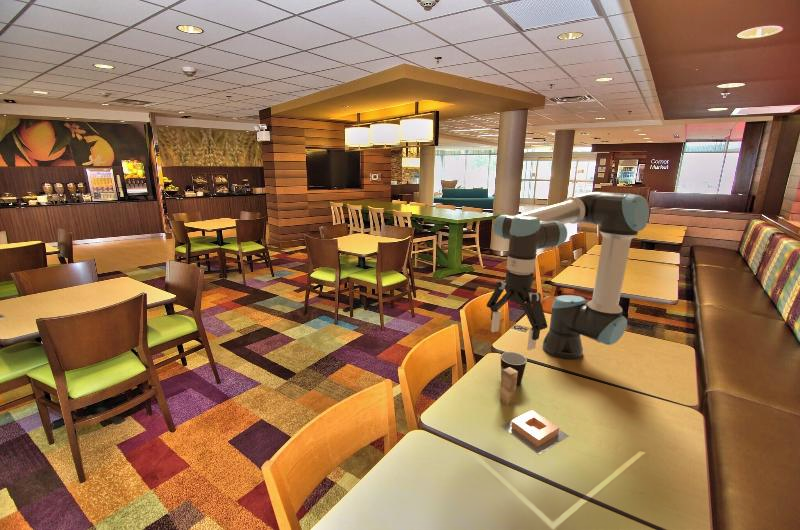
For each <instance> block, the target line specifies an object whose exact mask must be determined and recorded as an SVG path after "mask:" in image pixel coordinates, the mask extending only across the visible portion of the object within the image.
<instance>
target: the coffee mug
mask: <svg viewBox="0 0 800 530" xmlns="http://www.w3.org/2000/svg"><path fill="white" fill-rule="evenodd" d="M527 361H528V360H527V357H526V356H524V355H523V354H521V353H518V352H516V351H506V352H504V351H502V352H500V375H501V376H500V377H501V384H502V373H503V370H504V369H506V368H509V367H511V368H512V369H514V370H516V371H518V375H517V384H516V388H517V387H519V386H521V384H522V381H523V377H524V374H525V373H524V372H525V369H526V366H527Z"/></svg>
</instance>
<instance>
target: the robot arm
mask: <svg viewBox="0 0 800 530" xmlns="http://www.w3.org/2000/svg"><path fill="white" fill-rule="evenodd" d="M649 218H650V207H649V202H648V201H647V199H646V198H645V197H644V196H642V195H639V194H633V193H629V192H628V193H625V192H623V193H622V192H610V191H609V192H608V191H607V192H606V191H591V192H586V193H582V194H578V195H574V196H573V195H572V196H570V197H567V198H565V199H564V200H563V202H560V203H555V204H552V205H548V206H545V207H541V208H538V209H534V210H531V211H526V212H523V213H519V214H515V215H514V214H513V215H510V214H500V215H499V216H497V217H496V218H495V220H494V222H493V233H494V234H495V236H496V237H498V238H500V239H501V238H502V239H504V240H508V252H507V261H506V269H507V270H506V271H505V277H504V278H505V279H504V280H501V281H497V282H496V285H495V286H496V287H495V289H494V291H493V293H492V294H491V296H490V297H489V299H488V301H487V303H486V307H487V308H489V309H490V311H491V312H490V320H491V326H490V327H491V328H490V332H492V333H495V332H498V331H499V330H500V322H501V314H502V310H501V308H502V307H503V306H504V305H505V304H506V303H508V302H513V303H516V304H517V305H519V306H520V307H521V308H522V309H523V311H524V313H525V316H526V317H527V320H528V322H529V323H530V326H531V327H530V328H529V330H528V339H527V347H526V350H527V351H532V350H534V349H536V348H537V347H536V346H537V345H536V344H537V340H539V338H540V334H541V330H545V329H547V328H549V330H548V331H547V333H546V335H545V336H544V339H543V341H542V349H543V351H544V352H546V353H547V354H549V355H550V356H553V357H555V358H560V359H564V360H576V359H579V358H581V357H582V356H583V352H584V348H583V347H584V346H583V344H582V338H581V336H583V337H586V338H588V339H591V340H593V341H596V342H597V343H600V344H604V345H605V346H612V345H614V344H616V343H617V342H618V341H619V340H621V338H622V337H623V335H624V333H625V331H626V329H627V327H628V319H627V318H626V317H625V316H623V315H622V314H623V308H622V307H621V305H619V303H620V299H621V294H622V289H623V285H624V284H623V283H624V277H625V272H626V269H627V263H628V258H629V253H630V247H631V242H632V239H634V238H635V237H637V236H638V233H639V232H640V231H641V232H642V231H643V230H644V229H645V228H646V227H647V224H648V222H649ZM578 223H586V224H593V225H598V226H599V229H598V230H599V231H598V232H599V233H600V235H601V236H602V239H601V245H600V252H599V258H598V263H597V264H598V265H597V270H596V275H595V281H594V287H593V293H592V299H591V300H589V301H588V302H587V300H586V299H585V298H584V297H582V296H581V295H572V294H571V295H569V294H568V295H567V294H566V295H565V294H564V295H559V296H556V297H555V298H553V300H552V301H553V302H552V306H551V314H550V323H549V327H548V322H547V318H546V315H545V312H544V308H543V305H542V299H541V298H542V295H541V293H540V292H537V293H534V292H532V290H531V289H532V286H533V284H534V276H535V275H534V271H535V268H536V261H537V260H536V257H537V252H538V251H537V250H541V249H548V248H556V247H557V246H558V247H559V246H562V244H564V243H565V242H566V240H567V237H568V229H567V226H566V225H565V224H572V225H573V224H578ZM504 290H505V294H503V292H504ZM502 294H503V296H502V297H501V295H502ZM500 297H501V298H500ZM499 298H500V299H499ZM525 302H526V303H525Z"/></svg>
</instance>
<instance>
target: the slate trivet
mask: <svg viewBox="0 0 800 530" xmlns="http://www.w3.org/2000/svg"><path fill="white" fill-rule="evenodd" d="M530 411H532V410H528V411H526V412H525V413H523V414H521V415H519V416H518V417H515V418H513V419H512V420H510V421H507V423H504V424H503V425H501V427H502V428H503V429H505V430H506V431H507V433H510V434H511V435H512V436H514V437H515V439H516V438H517V440H519V441H521V442H522V444H524V445H526V446H527V447H528V448H530V449H531V450H532V451H534V452H535V453H536V454H537V455H539V456H540V455H542V454H543V453H545V452H546V451H548V450H549V449H551V448H553V447H554V446H556V445H557V444H559V443H560V442H562V441H563V440H565V439H566V438H568V437H570V435H569V434H567V433H565V431H563V430H561V429H560V428H559V433H558V435H556V436H555V437H553V438H551V439H550V440H548V441H547V442H545V443H543V444H542V445H540V446H539V447H537V446H536V445H535V444H533V443H532V442H530V441H529V440H528V439H526V438H525V437H524V436H522V435H521V434H520V433H518V432H517V431H516V430H514V429H513V428H511V427H512V421H513V420H515V419H517V418H519V417H521V416H522V415H524V414H526V413H528V412H530Z"/></svg>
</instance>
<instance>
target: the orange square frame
mask: <svg viewBox="0 0 800 530" xmlns="http://www.w3.org/2000/svg"><path fill="white" fill-rule="evenodd" d="M529 411H530V410H529ZM529 411H527V412H528V413H527V412H525V413H526V414H525V413H523V414H524V415H523V414H521V415H522V416H521V415H520V416H521V417H519V416H518V417H519V418H517V417H516V418H517V419H515V418H514V419H515V420H514V419H512V420H513V421H512V420H511V421H512V427H511V428H513V429H514V430H516V431H517V432H518V433H520V434H521V435H522V436H524V437H525V438H526V439H528V440H529V441H530V442H532V443H533V444H535V445H536V446H537V447H539V446H540V445H542V444H543V443H545V442H547V441H548V440H550V439H551V438H553V437H555V436H556V435H558V433H559V429H560V426H557V425H556V424H554V423H553V422H552V421H550V420H548V419H547V418H545V417H544V416H543V415H541V414H539V413H538V412H536V411H534V409H533V410H531V411H530V412H529Z"/></svg>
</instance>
